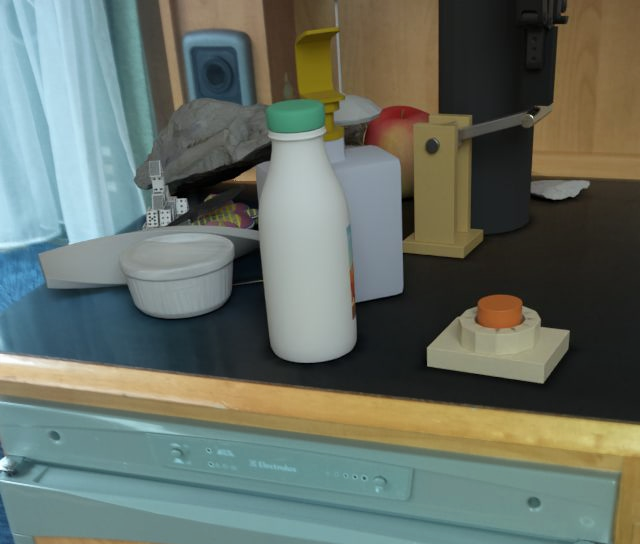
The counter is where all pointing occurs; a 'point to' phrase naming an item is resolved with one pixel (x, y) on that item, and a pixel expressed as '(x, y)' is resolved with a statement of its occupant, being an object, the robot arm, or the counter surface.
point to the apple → (397, 139)
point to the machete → (208, 206)
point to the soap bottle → (355, 178)
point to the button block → (499, 348)
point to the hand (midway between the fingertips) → (537, 103)
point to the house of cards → (163, 201)
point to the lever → (504, 122)
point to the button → (499, 311)
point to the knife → (248, 281)
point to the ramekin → (179, 274)
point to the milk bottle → (305, 240)
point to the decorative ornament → (229, 216)
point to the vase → (488, 105)
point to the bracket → (442, 189)
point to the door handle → (103, 255)
